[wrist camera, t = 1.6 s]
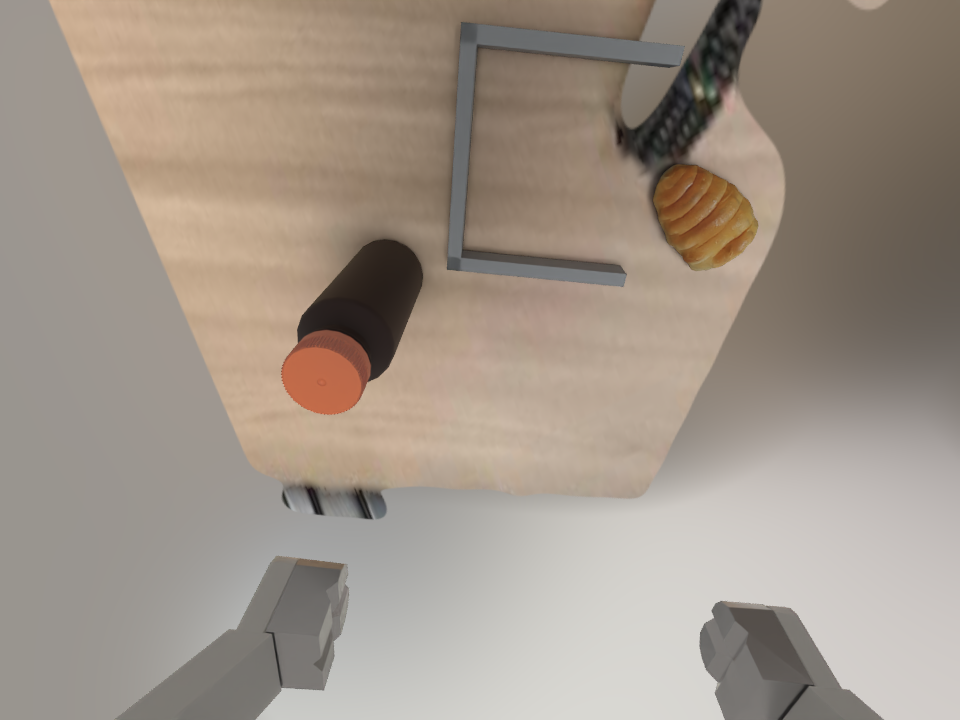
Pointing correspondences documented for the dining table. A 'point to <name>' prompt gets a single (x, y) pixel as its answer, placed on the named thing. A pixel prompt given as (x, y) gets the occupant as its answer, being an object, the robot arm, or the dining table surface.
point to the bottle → (353, 328)
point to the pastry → (703, 216)
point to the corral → (469, 45)
